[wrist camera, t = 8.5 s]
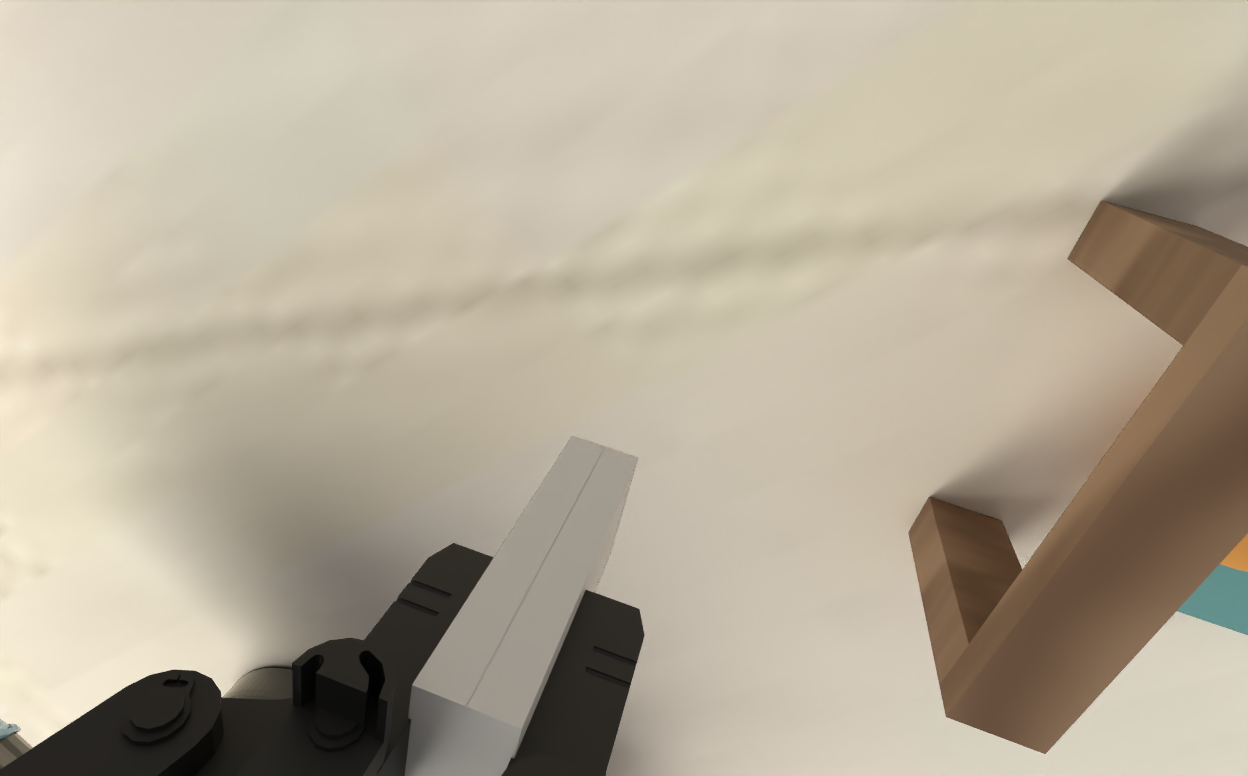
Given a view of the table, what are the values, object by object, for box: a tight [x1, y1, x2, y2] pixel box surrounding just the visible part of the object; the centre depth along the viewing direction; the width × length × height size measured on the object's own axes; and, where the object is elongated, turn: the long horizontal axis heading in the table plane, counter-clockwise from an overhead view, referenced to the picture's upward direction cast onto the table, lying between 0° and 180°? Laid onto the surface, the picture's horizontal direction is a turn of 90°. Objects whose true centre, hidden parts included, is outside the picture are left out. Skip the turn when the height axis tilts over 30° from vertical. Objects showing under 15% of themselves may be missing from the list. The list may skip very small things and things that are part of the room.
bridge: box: [909, 201, 1248, 754], centre depth 20 cm, size 3×14×9 cm, turn 167°
